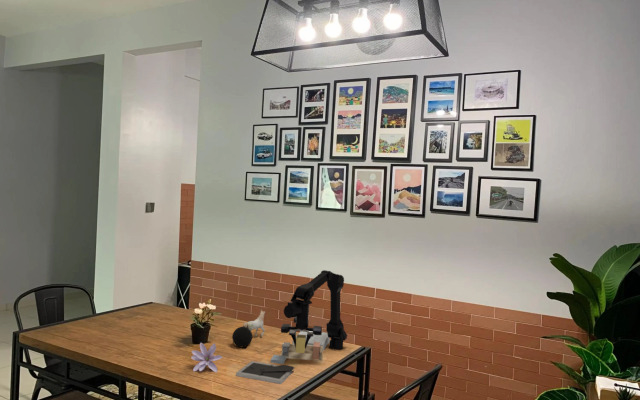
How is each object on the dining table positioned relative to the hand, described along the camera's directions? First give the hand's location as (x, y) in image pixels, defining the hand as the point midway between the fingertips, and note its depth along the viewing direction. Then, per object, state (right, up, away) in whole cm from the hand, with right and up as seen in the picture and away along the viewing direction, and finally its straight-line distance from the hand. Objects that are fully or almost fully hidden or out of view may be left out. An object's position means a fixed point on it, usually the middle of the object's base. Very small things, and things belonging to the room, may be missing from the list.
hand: (300, 347), depth 224 cm
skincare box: (-3, -5, +29) cm, 30 cm away
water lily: (-42, -6, -11) cm, 44 cm away
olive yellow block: (0, -1, 0) cm, 1 cm away
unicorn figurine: (-28, -6, +38) cm, 48 cm away
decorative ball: (-31, -6, +21) cm, 38 cm away
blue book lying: (-10, -8, +1) cm, 13 cm away
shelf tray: (0, -8, +9) cm, 12 cm away
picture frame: (-15, -8, -12) cm, 21 cm away
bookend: (-7, -6, +10) cm, 14 cm away
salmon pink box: (+7, -7, +9) cm, 13 cm away
